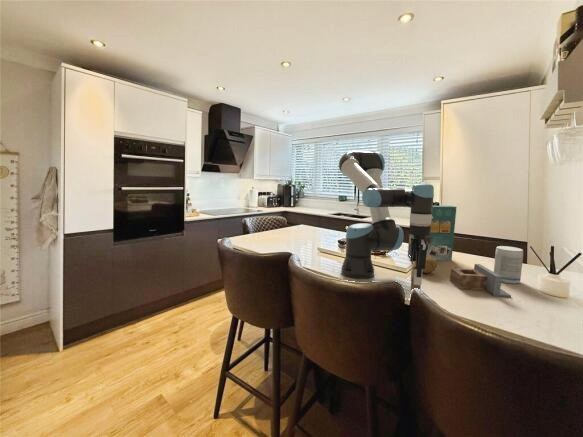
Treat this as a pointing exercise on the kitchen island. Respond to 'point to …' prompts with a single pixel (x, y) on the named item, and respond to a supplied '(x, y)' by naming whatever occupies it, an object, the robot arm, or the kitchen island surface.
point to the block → (468, 279)
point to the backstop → (492, 282)
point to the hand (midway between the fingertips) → (415, 282)
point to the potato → (430, 265)
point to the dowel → (413, 277)
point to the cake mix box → (440, 233)
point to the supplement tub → (508, 263)
